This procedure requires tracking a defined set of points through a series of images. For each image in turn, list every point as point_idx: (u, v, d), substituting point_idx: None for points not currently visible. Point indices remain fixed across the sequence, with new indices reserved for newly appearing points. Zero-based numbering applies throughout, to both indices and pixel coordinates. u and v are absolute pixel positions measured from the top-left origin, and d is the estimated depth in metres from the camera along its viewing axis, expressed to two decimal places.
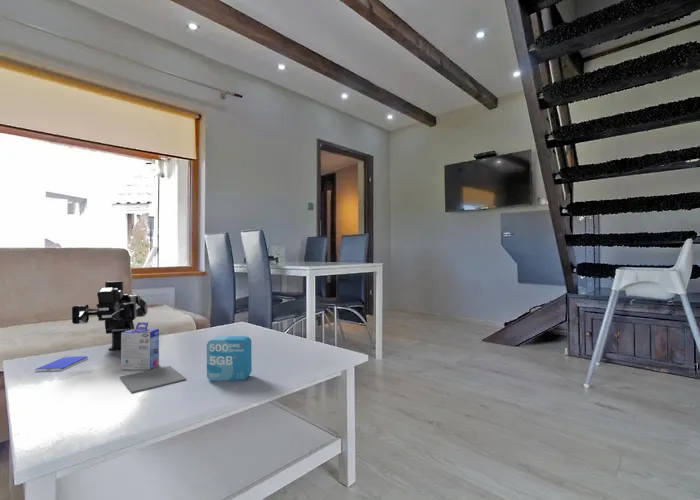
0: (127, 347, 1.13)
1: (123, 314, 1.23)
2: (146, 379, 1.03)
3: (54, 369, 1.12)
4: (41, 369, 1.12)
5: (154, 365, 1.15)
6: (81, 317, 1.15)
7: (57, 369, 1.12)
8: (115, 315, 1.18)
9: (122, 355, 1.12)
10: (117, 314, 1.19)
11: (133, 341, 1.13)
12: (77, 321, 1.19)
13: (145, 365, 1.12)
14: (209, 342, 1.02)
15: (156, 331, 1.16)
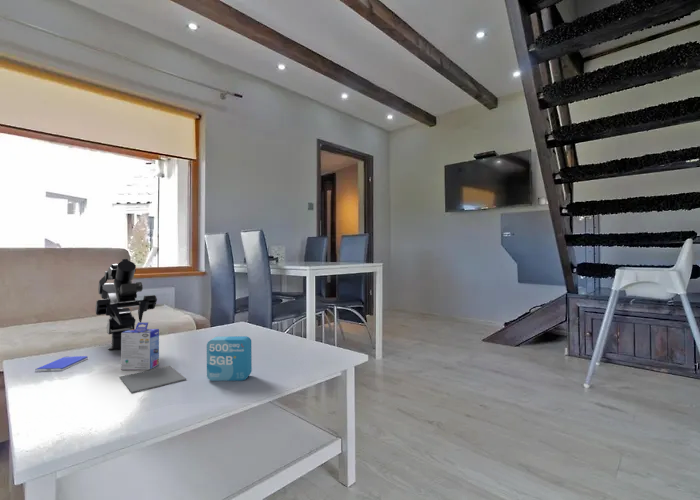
0: (127, 347, 1.13)
1: None
2: (146, 379, 1.03)
3: (54, 369, 1.12)
4: (41, 369, 1.12)
5: (154, 365, 1.15)
6: None
7: (57, 369, 1.13)
8: (141, 318, 1.28)
9: (122, 355, 1.12)
10: None
11: (133, 341, 1.13)
12: (107, 314, 1.25)
13: (145, 365, 1.12)
14: (209, 342, 1.02)
15: (156, 331, 1.16)
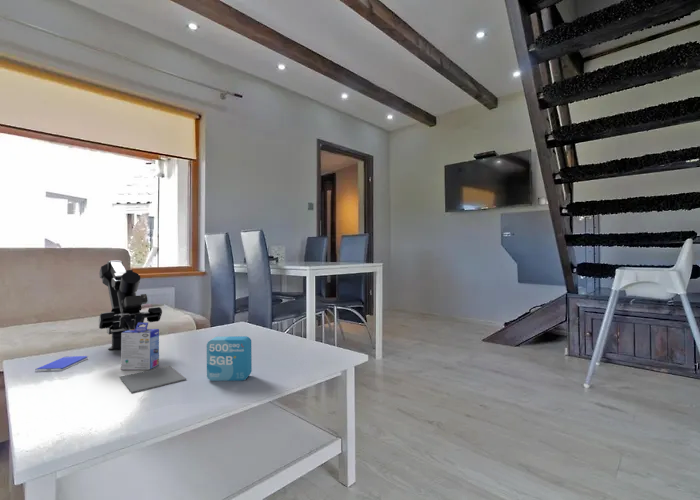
0: (127, 347, 1.13)
1: None
2: (146, 379, 1.03)
3: (54, 369, 1.12)
4: (41, 369, 1.12)
5: (154, 365, 1.15)
6: None
7: (57, 369, 1.13)
8: None
9: (122, 355, 1.12)
10: None
11: (133, 341, 1.13)
12: (121, 326, 1.23)
13: (145, 365, 1.12)
14: (209, 342, 1.02)
15: (156, 331, 1.16)
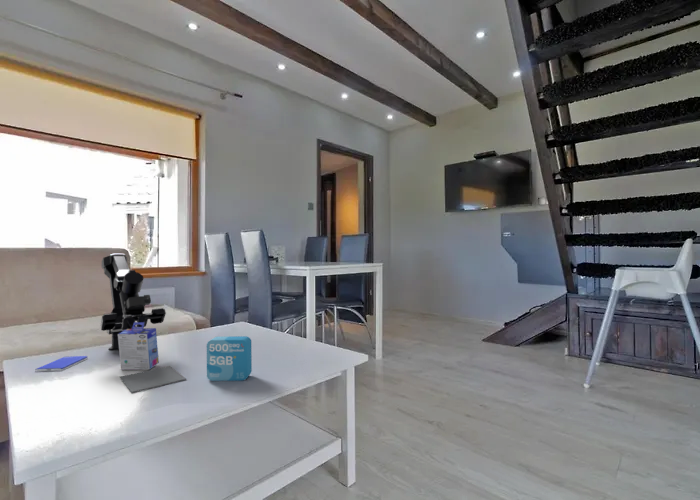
0: (125, 348, 1.12)
1: None
2: (146, 379, 1.03)
3: (54, 369, 1.13)
4: (41, 369, 1.12)
5: (154, 364, 1.14)
6: None
7: (57, 369, 1.13)
8: None
9: (121, 356, 1.12)
10: None
11: (130, 342, 1.11)
12: (124, 328, 1.19)
13: (145, 365, 1.12)
14: (209, 342, 1.02)
15: (153, 331, 1.14)
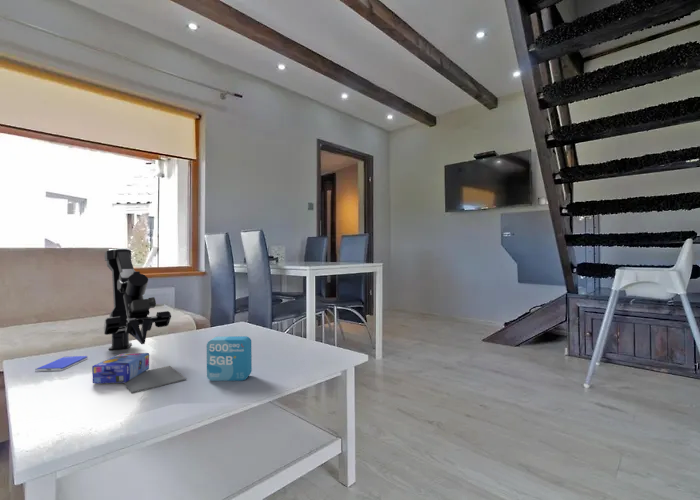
0: None
1: None
2: (146, 379, 1.03)
3: (54, 369, 1.13)
4: (41, 369, 1.12)
5: (148, 362, 1.11)
6: None
7: (57, 369, 1.13)
8: None
9: None
10: (145, 336, 1.14)
11: None
12: (128, 332, 1.15)
13: None
14: (209, 342, 1.02)
15: (126, 370, 1.01)
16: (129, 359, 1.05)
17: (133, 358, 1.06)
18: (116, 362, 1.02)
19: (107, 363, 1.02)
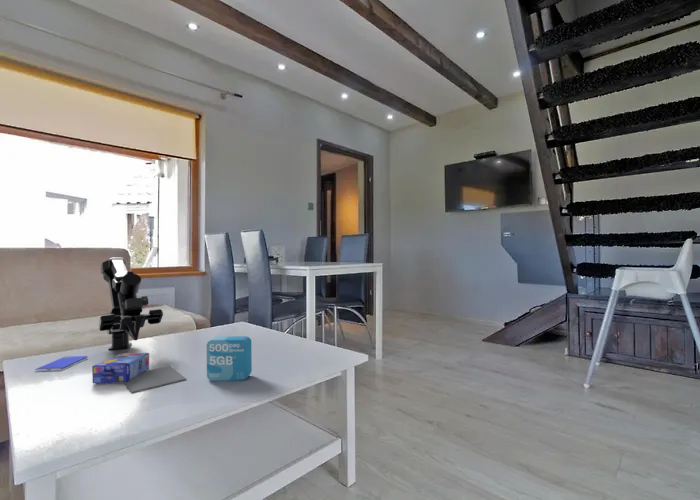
0: None
1: None
2: (146, 379, 1.03)
3: (54, 369, 1.13)
4: (41, 369, 1.12)
5: (148, 362, 1.11)
6: None
7: (57, 369, 1.13)
8: None
9: None
10: (138, 333, 1.21)
11: None
12: (121, 329, 1.22)
13: None
14: (209, 342, 1.02)
15: (126, 370, 1.01)
16: (129, 359, 1.05)
17: (133, 358, 1.06)
18: (116, 362, 1.02)
19: (107, 363, 1.02)
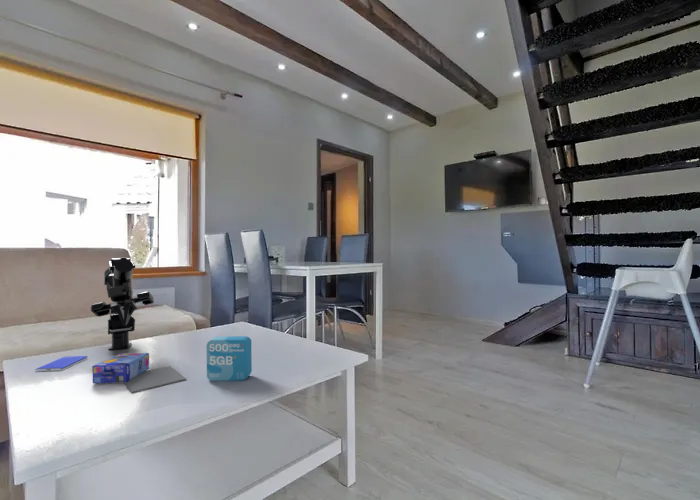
0: None
1: (129, 308, 1.28)
2: (146, 379, 1.03)
3: (54, 369, 1.13)
4: (41, 369, 1.12)
5: (148, 362, 1.11)
6: None
7: (57, 369, 1.13)
8: (127, 321, 1.25)
9: None
10: (127, 318, 1.26)
11: None
12: (116, 313, 1.28)
13: None
14: (209, 342, 1.02)
15: (126, 370, 1.01)
16: (129, 359, 1.05)
17: (133, 358, 1.06)
18: (116, 362, 1.02)
19: (107, 363, 1.02)
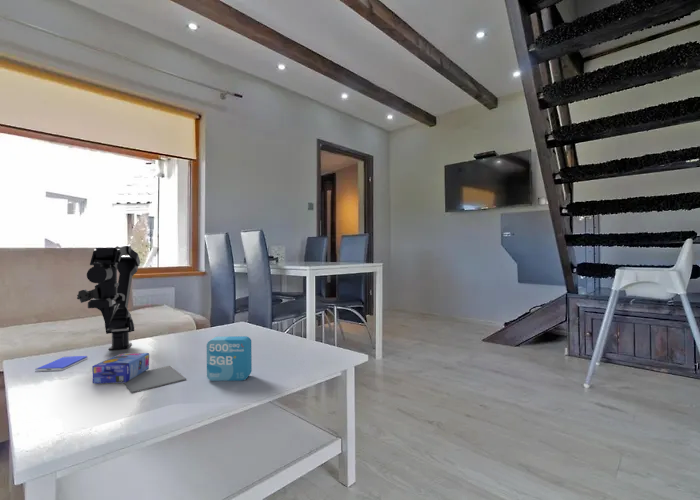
0: None
1: (108, 307, 1.25)
2: (146, 379, 1.03)
3: (55, 369, 1.13)
4: (41, 369, 1.12)
5: (148, 362, 1.11)
6: None
7: (58, 369, 1.13)
8: (106, 321, 1.25)
9: None
10: (106, 318, 1.25)
11: None
12: None
13: None
14: (209, 342, 1.02)
15: (126, 370, 1.01)
16: (129, 359, 1.05)
17: (133, 358, 1.06)
18: (116, 362, 1.02)
19: (107, 363, 1.02)
